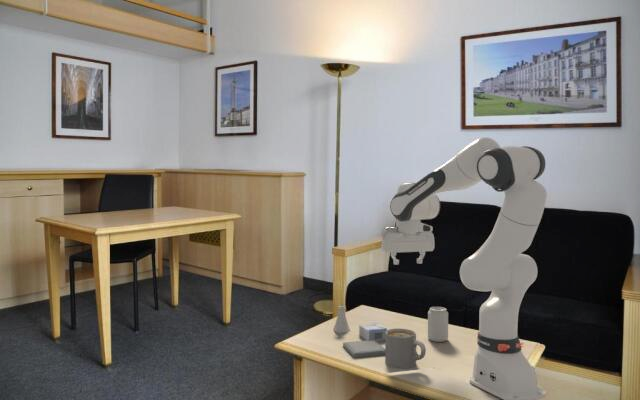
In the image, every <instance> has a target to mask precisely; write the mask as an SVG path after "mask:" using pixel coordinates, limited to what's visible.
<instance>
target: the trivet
mask: <svg viewBox="0 0 640 400" xmlns="http://www.w3.org/2000/svg"><path fill="white" fill-rule="evenodd" d="M342 347H343V348H344V349H345V350H346V352H347V353H348V354H350V355H351V356H352V357H353V358H355V359H357V358H365V357H366V358H367V357H374V356H385V346H383V345H382V344H380V343H379V342H378V341H375V340H359V341H358V340H357V341H346V342H345V341H344V342H343V343H342Z"/></svg>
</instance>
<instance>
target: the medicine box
mask: <svg viewBox="0 0 640 400" xmlns="http://www.w3.org/2000/svg"><path fill="white" fill-rule="evenodd" d="M387 330H388V328H387V327H385V326H383V325H381V324H379V323H377V322H375V323H368V324H360V325H359V329H358V336H360V337H361V338H362V339H364V341H366V340H375V341H376V342H380V341H381V342H382V341H385V333H386V331H387Z"/></svg>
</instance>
